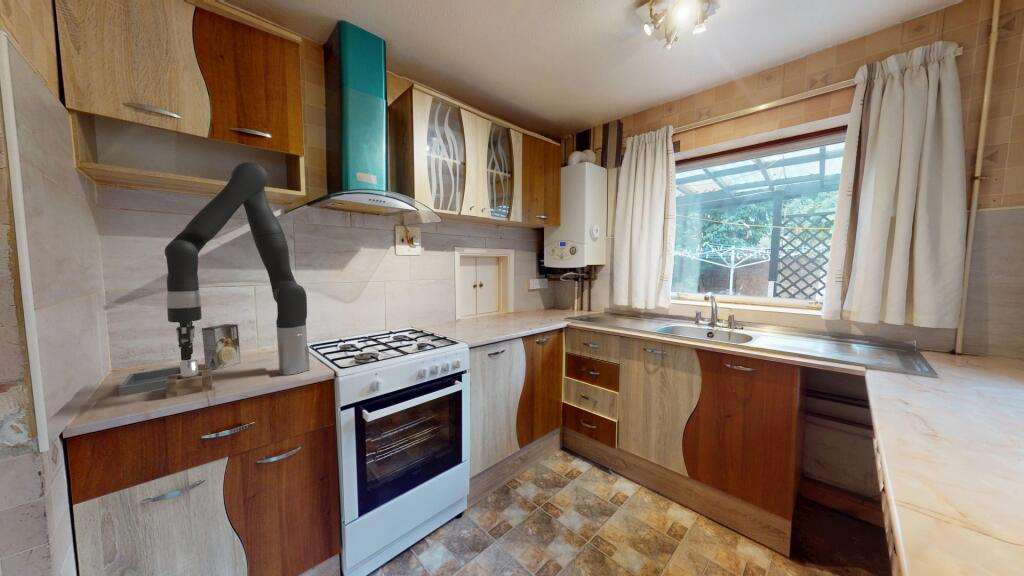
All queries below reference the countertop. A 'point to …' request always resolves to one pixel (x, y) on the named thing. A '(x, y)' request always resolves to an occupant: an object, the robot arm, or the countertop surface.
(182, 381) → the pin block
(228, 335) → the coffee box
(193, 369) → the pin
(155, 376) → the tray
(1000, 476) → the countertop surface
